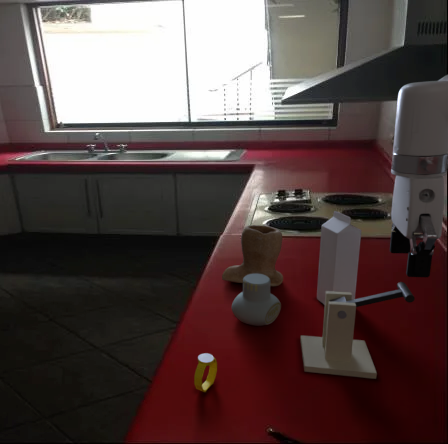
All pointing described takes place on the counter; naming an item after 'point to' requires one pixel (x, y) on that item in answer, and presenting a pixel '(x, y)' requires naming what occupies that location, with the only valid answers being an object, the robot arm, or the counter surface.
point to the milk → (338, 256)
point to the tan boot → (257, 255)
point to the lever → (382, 296)
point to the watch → (203, 361)
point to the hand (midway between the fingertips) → (408, 263)
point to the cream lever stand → (337, 343)
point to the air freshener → (256, 301)
